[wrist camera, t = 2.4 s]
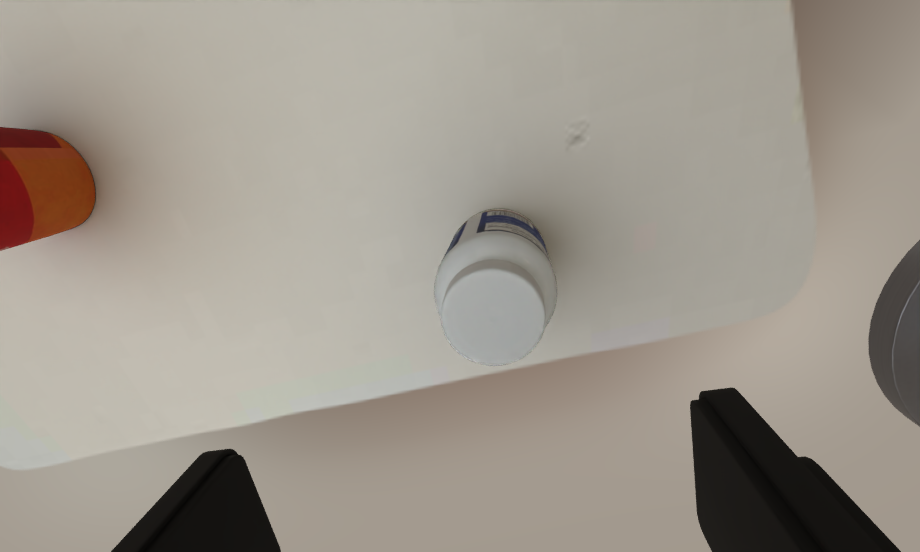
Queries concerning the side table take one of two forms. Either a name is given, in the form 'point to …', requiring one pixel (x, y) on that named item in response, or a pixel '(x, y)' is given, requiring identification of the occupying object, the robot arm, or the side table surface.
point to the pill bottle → (495, 288)
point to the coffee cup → (40, 186)
